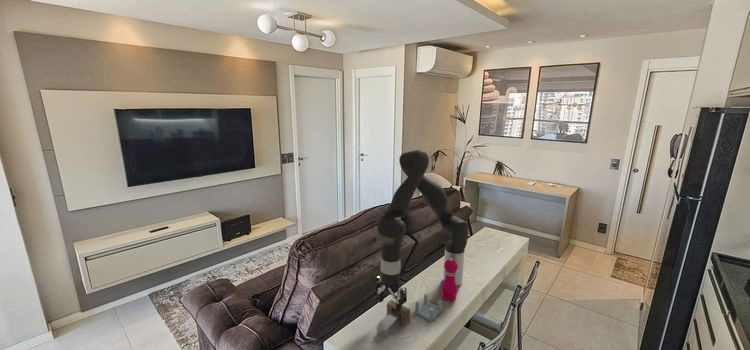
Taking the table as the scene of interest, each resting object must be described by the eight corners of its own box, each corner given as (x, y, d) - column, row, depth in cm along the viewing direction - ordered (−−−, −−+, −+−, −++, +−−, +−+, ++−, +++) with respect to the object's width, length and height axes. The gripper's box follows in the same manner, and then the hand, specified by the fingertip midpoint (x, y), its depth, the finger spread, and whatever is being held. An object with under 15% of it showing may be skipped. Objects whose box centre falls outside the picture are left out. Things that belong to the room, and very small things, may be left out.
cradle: (425, 302, 140) (426, 292, 138) (441, 310, 134) (442, 300, 133) (414, 313, 133) (414, 302, 132) (430, 321, 128) (431, 310, 127)
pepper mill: (454, 292, 147) (457, 253, 143) (458, 302, 140) (462, 261, 136) (439, 292, 147) (441, 253, 142) (442, 302, 140) (445, 261, 135)
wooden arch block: (391, 312, 133) (391, 299, 132) (409, 322, 127) (410, 309, 126) (386, 315, 131) (387, 303, 130) (405, 326, 125) (406, 313, 124)
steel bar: (398, 312, 133) (398, 304, 132) (406, 316, 131) (407, 308, 130) (376, 335, 121) (377, 326, 120) (385, 339, 118) (385, 330, 118)
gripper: (370, 266, 121) (369, 302, 125) (399, 279, 112) (398, 319, 116) (382, 259, 127) (381, 294, 130) (411, 271, 118) (410, 309, 121)
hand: (389, 306), depth 123 cm, fingers open, 8 cm apart
